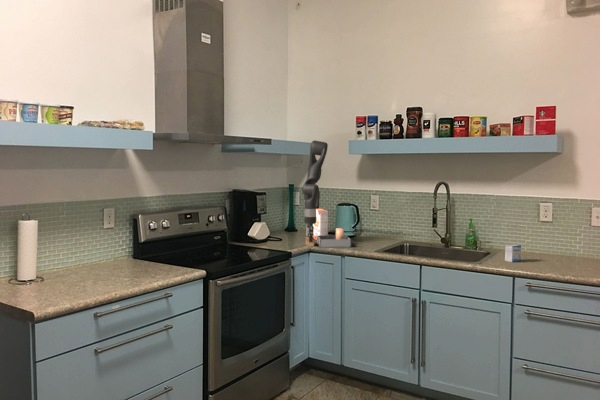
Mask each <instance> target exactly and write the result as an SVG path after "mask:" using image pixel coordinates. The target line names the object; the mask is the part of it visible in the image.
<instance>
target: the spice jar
mask: <svg viewBox="0 0 600 400" xmlns="http://www.w3.org/2000/svg"><path fill="white" fill-rule="evenodd" d="M344 230H345V229H344V228H342V227H336V228H335V235H336V239H344V235H345V234H344V233H345V232H344Z"/></svg>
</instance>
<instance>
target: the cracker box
mask: <svg viewBox="0 0 600 400" xmlns="http://www.w3.org/2000/svg"><path fill="white" fill-rule="evenodd" d="M313 227H314V229H313V230H314V232H313V234H314V235H313V237H314V241H317V236H324V235H329V211H328V210H327V209H323V208H319V209H316V223H315V224H313Z"/></svg>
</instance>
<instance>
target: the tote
mask: <svg viewBox="0 0 600 400" xmlns="http://www.w3.org/2000/svg"><path fill="white" fill-rule="evenodd" d="M316 243H317V246H318V247H319V248H320V249H324V248H325V249H328V248H329V249H330V248H332V249H334V248H336V249H337V248H338V249H339V248H343V249H345V248H352V239H351V238H350V237H349V236H348V235H345V234H344V239H336V234H335V235H329V234H328V235H324V236H317V240H316Z"/></svg>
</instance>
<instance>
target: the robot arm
mask: <svg viewBox="0 0 600 400" xmlns="http://www.w3.org/2000/svg"><path fill="white" fill-rule="evenodd" d="M328 145H329V144H328V143H327V142H325V141H320V140H312V141H311V143H310V147H309V148H310V149H309V160H308V161H309V163H308V166H307V167H308V168H307V176H306V180H305V181H304V182H303V185H302V188H301V192H302V194H303V198H304V212H303V213H304V217H303V218H304V219H303V221H304V222H303V223H304V224H305V235H306V237H309V242H313V235H314V234H313V232H314V230H313V229H314V227H313V224H315V223H316V209H320V199H321V198H320V196H321V194H320V193H321V192H320V187H319V185H317V183H318V181H320V179H321V176H322V167H323V165H324V162H325V159H326V156H327V152H328ZM316 156H319V158H318V160H317V157H316Z"/></svg>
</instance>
